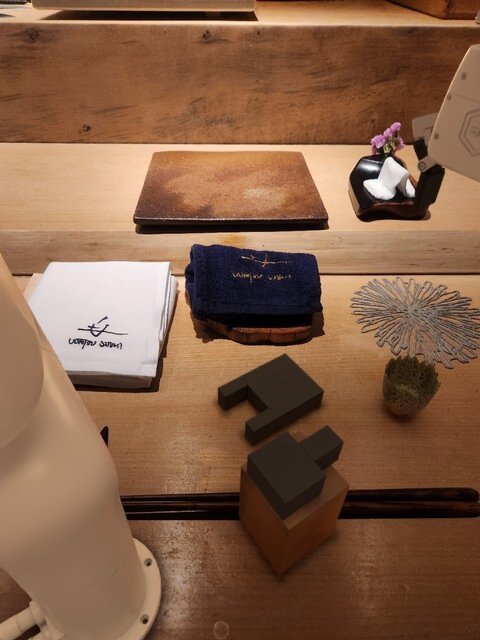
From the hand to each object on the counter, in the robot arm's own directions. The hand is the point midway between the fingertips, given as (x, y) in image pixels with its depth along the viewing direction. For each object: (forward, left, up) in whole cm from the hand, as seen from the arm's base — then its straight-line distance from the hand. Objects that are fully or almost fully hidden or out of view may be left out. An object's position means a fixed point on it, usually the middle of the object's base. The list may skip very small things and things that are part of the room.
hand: (460, 225), depth 48 cm
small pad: (-23, -5, -19) cm, 31 cm away
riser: (-24, -5, -31) cm, 40 cm away
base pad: (-14, +11, -31) cm, 36 cm away
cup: (+1, -1, -31) cm, 31 cm away
